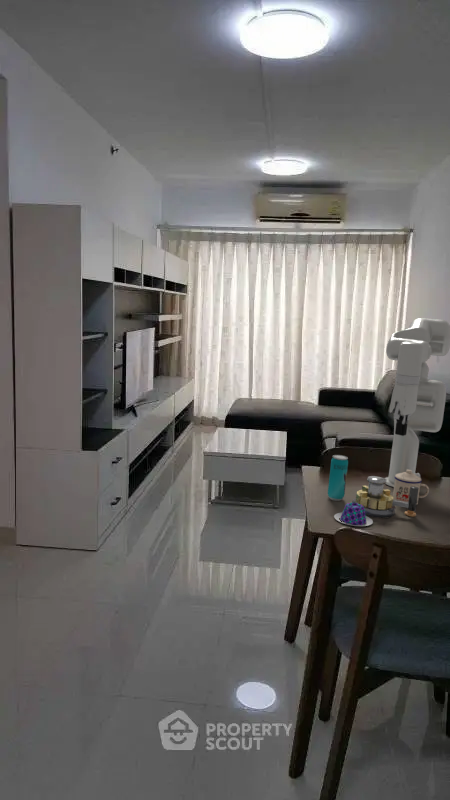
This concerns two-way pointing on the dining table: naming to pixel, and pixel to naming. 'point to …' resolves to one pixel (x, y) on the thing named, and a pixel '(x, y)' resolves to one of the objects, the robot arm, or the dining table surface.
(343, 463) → the beverage can
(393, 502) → the segmented ring with handle
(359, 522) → the pudding
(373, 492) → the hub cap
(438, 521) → the dining table surface
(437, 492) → the dining table surface
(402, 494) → the teacup with lid
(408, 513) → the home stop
